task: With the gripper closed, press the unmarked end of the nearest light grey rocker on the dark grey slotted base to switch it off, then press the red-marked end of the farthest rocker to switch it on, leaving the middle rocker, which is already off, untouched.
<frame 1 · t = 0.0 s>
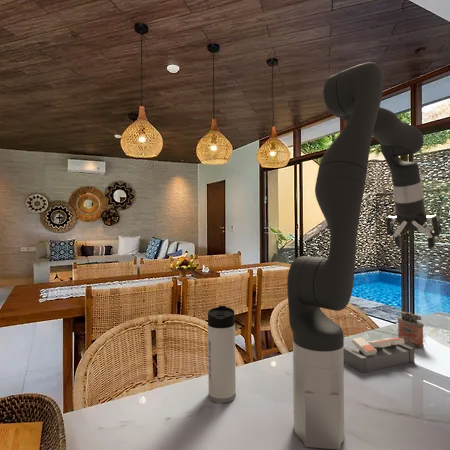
hand: (415, 247, 96), 31 cm above the table, tool tilted 20°, fingers open, 8 cm apart
dark grey slotted base: (378, 361, 87), on the table
lighter: (410, 344, 99), on the table
travel mug: (222, 396, 71), on the table
rocker near: (364, 346, 86), point 5 cm above the table, hinge at -18.0°
rocker middle: (378, 343, 87), point 5 cm above the table, hinge at 18.0°
rocker far: (391, 340, 89), point 5 cm above the table, hinge at 18.0°
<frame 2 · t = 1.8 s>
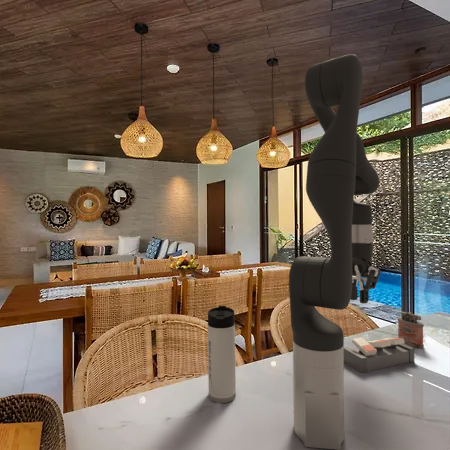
hand: (358, 301, 87), 17 cm above the table, tool pointing down, fingers open, 3 cm apart
nothing on the table moved.
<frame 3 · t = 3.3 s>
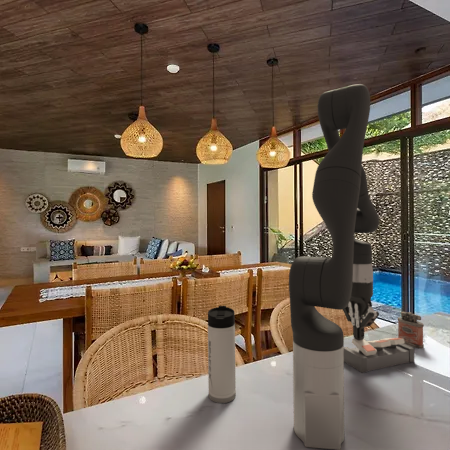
hand: (358, 339, 88), 6 cm above the table, tool pointing down, fingers closed
rocker near: (364, 346, 86), point 5 cm above the table, hinge at -17.9°, touching gripper
everything else where it was.
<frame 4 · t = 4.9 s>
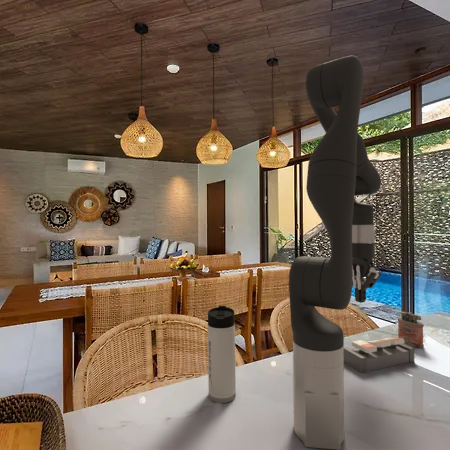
hand: (360, 301, 87), 17 cm above the table, tool pointing down, fingers closed
rocker near: (364, 346, 86), point 5 cm above the table, hinge at 1.7°
everything else where it was.
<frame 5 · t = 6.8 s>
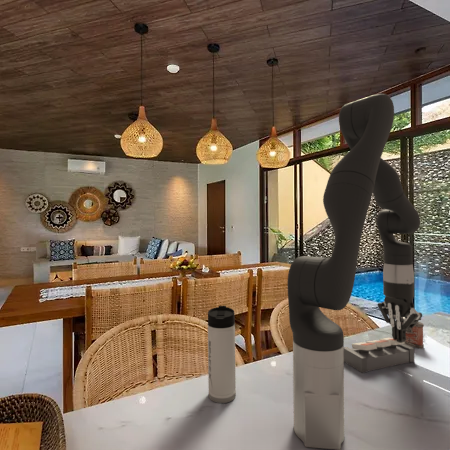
hand: (399, 341, 87), 6 cm above the table, tool pointing down, fingers closed
rocker near: (364, 345, 86), point 5 cm above the table, hinge at 16.1°
rocker far: (391, 340, 89), point 5 cm above the table, hinge at 15.9°, touching gripper
everything else where it was.
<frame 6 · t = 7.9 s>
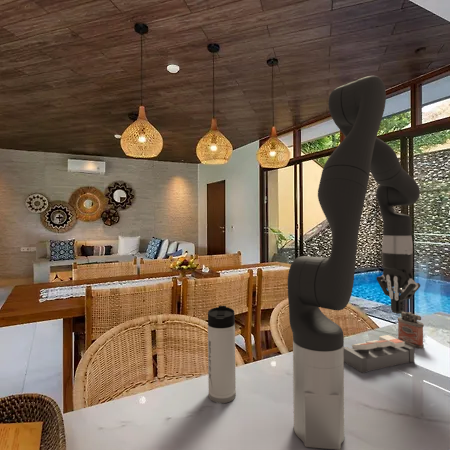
hand: (397, 312, 87), 14 cm above the table, tool pointing down, fingers closed
rocker near: (363, 345, 86), point 5 cm above the table, hinge at 20.9°
rocker far: (391, 340, 89), point 5 cm above the table, hinge at -0.9°
everything else where it was.
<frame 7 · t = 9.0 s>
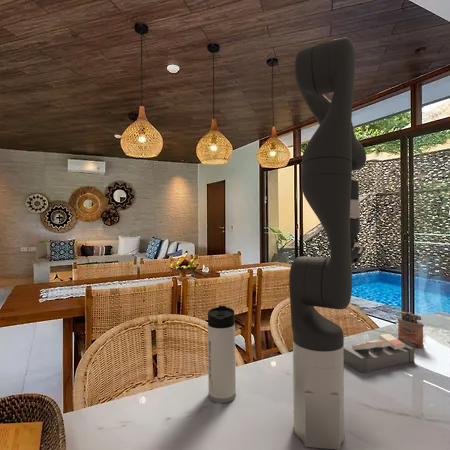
hand: (345, 278, 86), 24 cm above the table, tool pointing down, fingers closed
rocker near: (363, 345, 86), point 5 cm above the table, hinge at 24.2°
rocker far: (391, 341, 89), point 5 cm above the table, hinge at -11.6°
everything else where it was.
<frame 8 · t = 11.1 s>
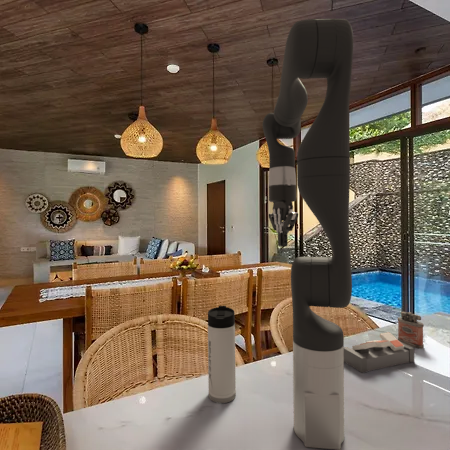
hand: (282, 246, 87), 33 cm above the table, tool pointing down, fingers closed
rocker near: (363, 345, 86), point 5 cm above the table, hinge at 27.7°, touching dark grey slotted base
rocker far: (391, 341, 89), point 5 cm above the table, hinge at -23.3°
everything else where it was.
at the end: rocker near at +28° (first picture: -18°); rocker far at -24° (first picture: +18°); rocker middle at +18° (first picture: +18°) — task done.
